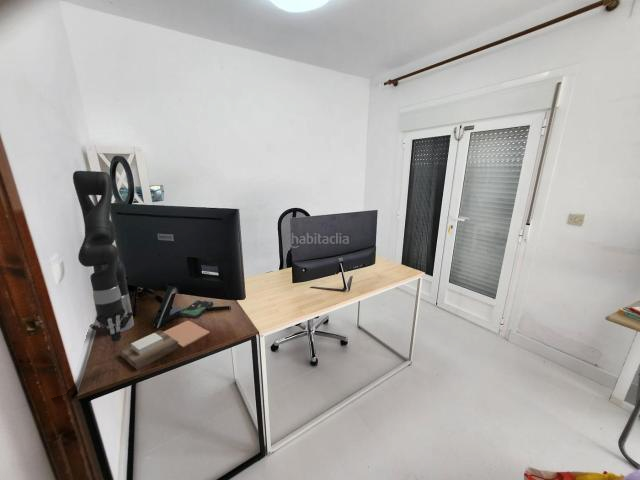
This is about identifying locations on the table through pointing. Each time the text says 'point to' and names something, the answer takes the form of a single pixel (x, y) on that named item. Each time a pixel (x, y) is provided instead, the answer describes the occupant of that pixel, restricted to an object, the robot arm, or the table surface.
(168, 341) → the deck
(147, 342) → the tile
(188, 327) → the mat
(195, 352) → the table surface
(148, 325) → the table surface
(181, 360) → the table surface
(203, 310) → the disk drive
